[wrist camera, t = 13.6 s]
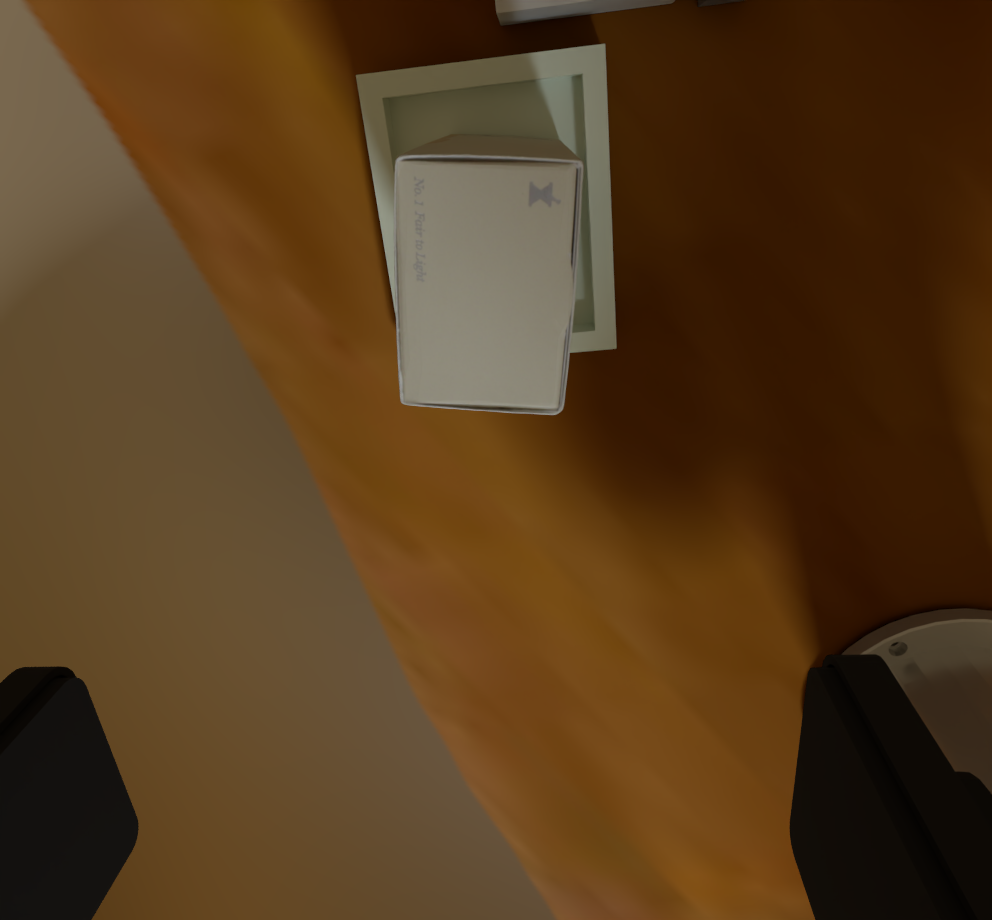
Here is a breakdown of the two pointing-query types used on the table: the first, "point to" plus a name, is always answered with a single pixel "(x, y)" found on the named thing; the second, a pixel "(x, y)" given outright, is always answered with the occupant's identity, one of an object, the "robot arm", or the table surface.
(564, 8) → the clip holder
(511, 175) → the skincare box
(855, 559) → the table surface
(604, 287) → the tray
